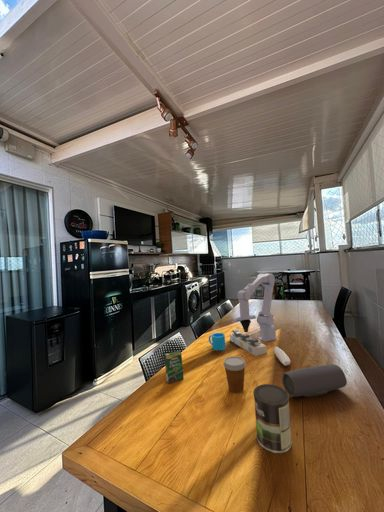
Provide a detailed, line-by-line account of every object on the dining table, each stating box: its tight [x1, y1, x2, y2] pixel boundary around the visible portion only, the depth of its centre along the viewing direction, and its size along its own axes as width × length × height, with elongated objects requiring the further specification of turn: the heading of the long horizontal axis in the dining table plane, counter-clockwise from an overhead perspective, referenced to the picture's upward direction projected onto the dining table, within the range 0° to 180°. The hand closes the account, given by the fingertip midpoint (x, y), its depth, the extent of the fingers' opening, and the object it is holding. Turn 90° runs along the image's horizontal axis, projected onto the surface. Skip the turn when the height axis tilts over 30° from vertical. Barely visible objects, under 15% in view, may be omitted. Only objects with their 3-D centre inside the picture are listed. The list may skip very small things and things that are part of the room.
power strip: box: [229, 332, 268, 357], centre depth 143 cm, size 8×34×5 cm, turn 21°
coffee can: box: [252, 383, 293, 454], centre depth 69 cm, size 10×10×14 cm
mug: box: [208, 332, 226, 352], centre depth 142 cm, size 12×8×8 cm
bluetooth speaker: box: [281, 364, 348, 398], centre depth 90 cm, size 23×9×10 cm, turn 100°
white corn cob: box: [273, 346, 291, 367], centre depth 120 cm, size 5×20×5 cm, turn 176°
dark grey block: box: [232, 328, 242, 336], centre depth 148 cm, size 3×6×2 cm, turn 21°
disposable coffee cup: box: [222, 355, 246, 394], centre depth 96 cm, size 10×10×12 cm
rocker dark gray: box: [240, 333, 250, 338], centre depth 140 cm, size 3×6×2 cm, turn 21°
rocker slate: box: [248, 338, 260, 343], centre depth 131 cm, size 3×6×2 cm, turn 21°
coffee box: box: [164, 350, 184, 385], centre depth 106 cm, size 8×3×13 cm, turn 113°
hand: (245, 331), depth 138 cm, fingers closed
